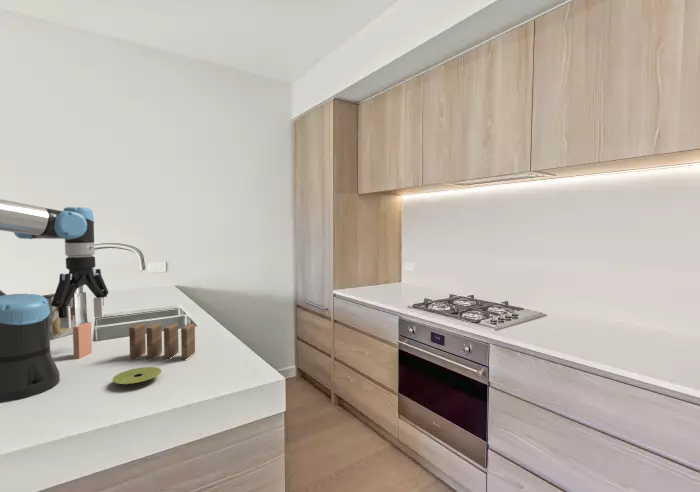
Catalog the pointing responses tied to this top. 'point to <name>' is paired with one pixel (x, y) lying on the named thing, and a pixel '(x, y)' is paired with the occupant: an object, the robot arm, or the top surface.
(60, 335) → the coffee box
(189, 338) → the domino
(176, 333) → the domino
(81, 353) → the domino
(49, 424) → the top surface
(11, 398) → the robot arm
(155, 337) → the domino
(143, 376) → the green round flat disc
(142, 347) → the domino
